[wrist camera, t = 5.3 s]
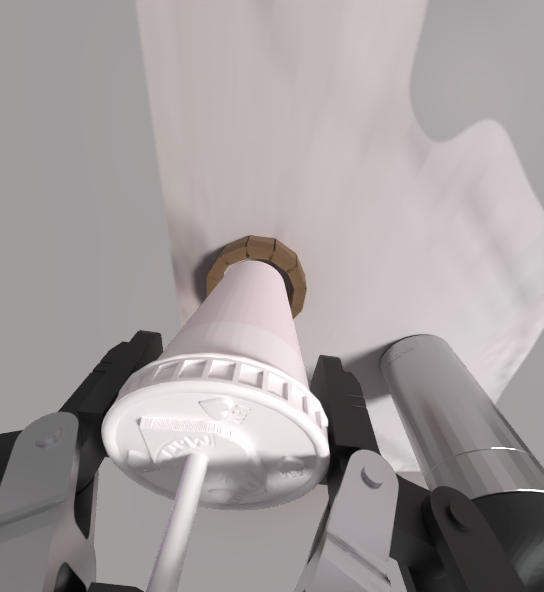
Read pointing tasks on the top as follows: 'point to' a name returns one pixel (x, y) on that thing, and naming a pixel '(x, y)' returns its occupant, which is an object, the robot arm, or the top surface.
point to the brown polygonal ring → (265, 251)
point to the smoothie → (222, 414)
